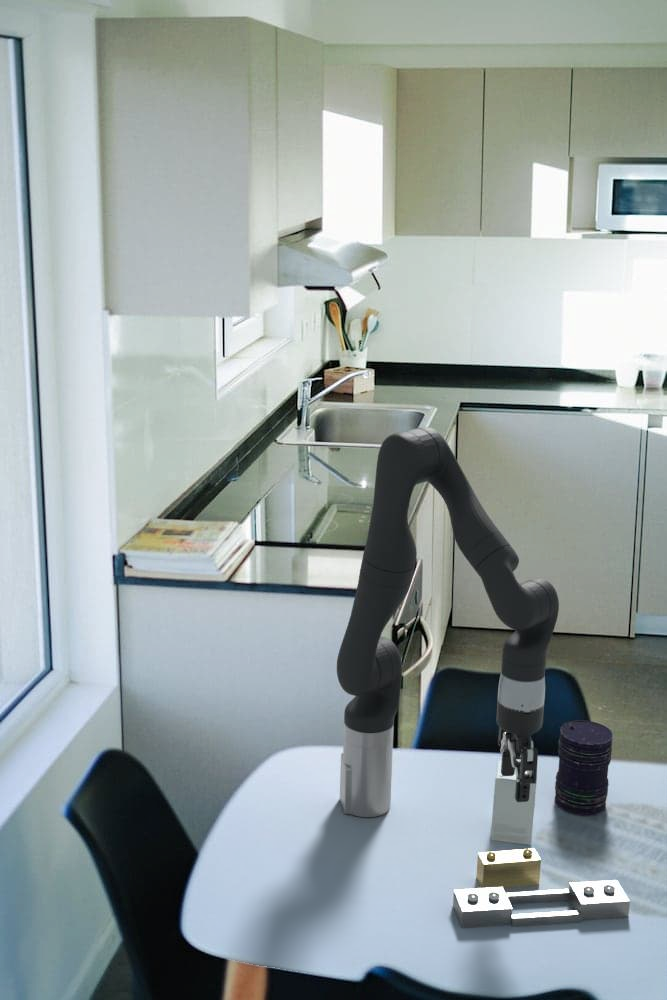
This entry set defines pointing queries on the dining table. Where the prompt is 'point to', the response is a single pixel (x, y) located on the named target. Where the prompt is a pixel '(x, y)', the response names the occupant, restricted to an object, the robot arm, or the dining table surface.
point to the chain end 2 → (587, 901)
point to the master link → (508, 868)
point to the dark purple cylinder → (583, 768)
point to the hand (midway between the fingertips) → (514, 787)
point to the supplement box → (511, 811)
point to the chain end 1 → (493, 907)
